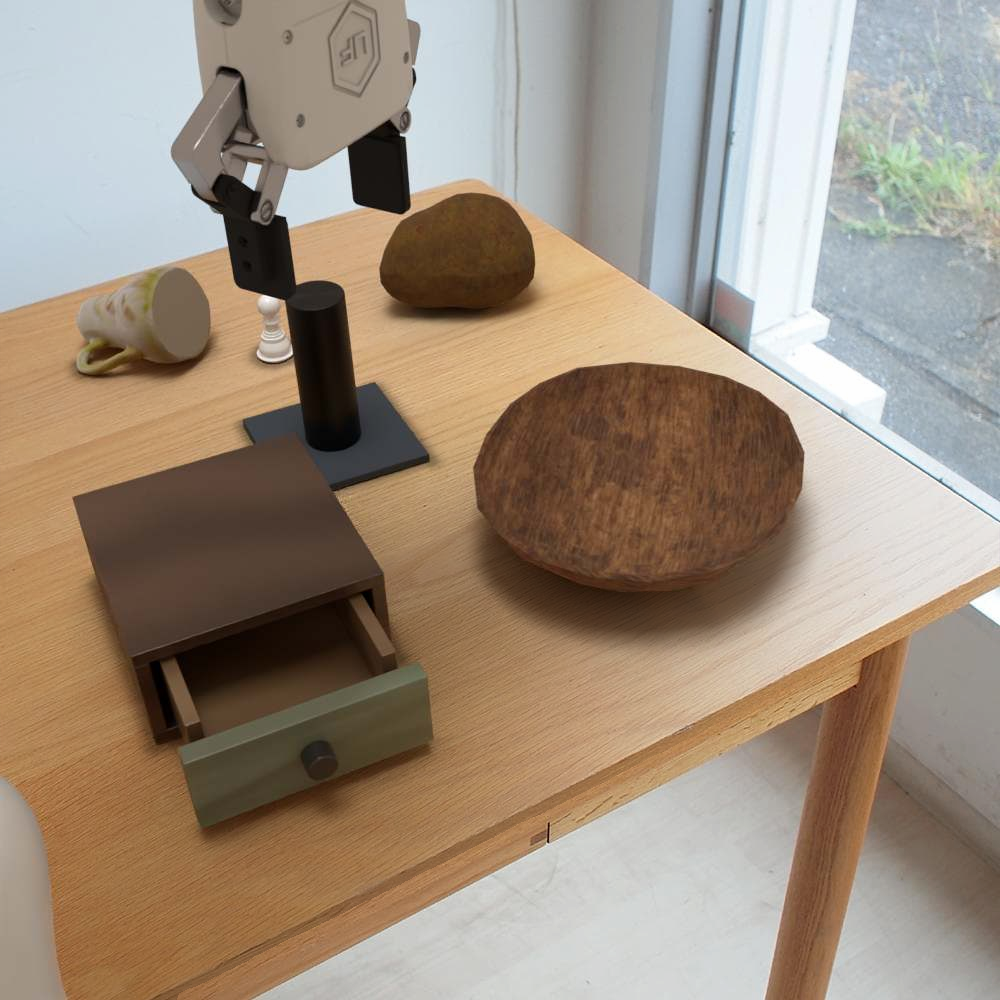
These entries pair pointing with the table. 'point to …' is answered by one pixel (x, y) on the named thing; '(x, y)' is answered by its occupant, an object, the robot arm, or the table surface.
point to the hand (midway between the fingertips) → (327, 247)
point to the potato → (459, 254)
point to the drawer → (291, 706)
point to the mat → (371, 456)
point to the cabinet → (220, 555)
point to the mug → (146, 320)
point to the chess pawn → (272, 332)
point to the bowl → (639, 475)
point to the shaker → (324, 365)
